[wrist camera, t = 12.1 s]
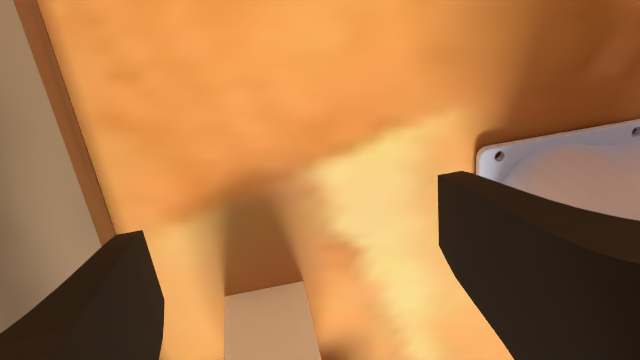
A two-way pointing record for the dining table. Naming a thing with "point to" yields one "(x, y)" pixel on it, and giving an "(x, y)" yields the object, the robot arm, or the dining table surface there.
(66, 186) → the walnut plank
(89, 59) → the dining table surface
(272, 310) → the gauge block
